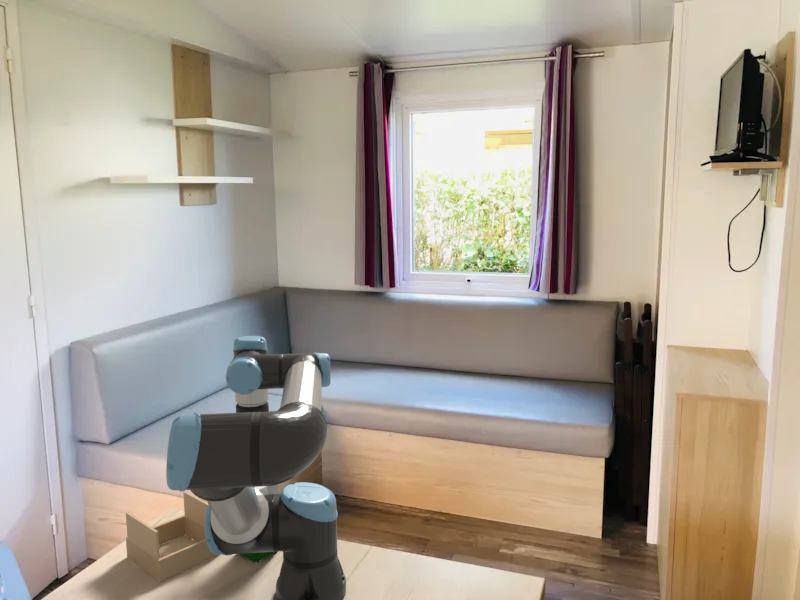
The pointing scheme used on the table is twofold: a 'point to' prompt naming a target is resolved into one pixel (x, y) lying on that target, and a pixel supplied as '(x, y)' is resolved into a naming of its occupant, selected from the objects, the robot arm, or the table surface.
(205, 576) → the table surface
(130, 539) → the wooden tray box
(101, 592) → the table surface
